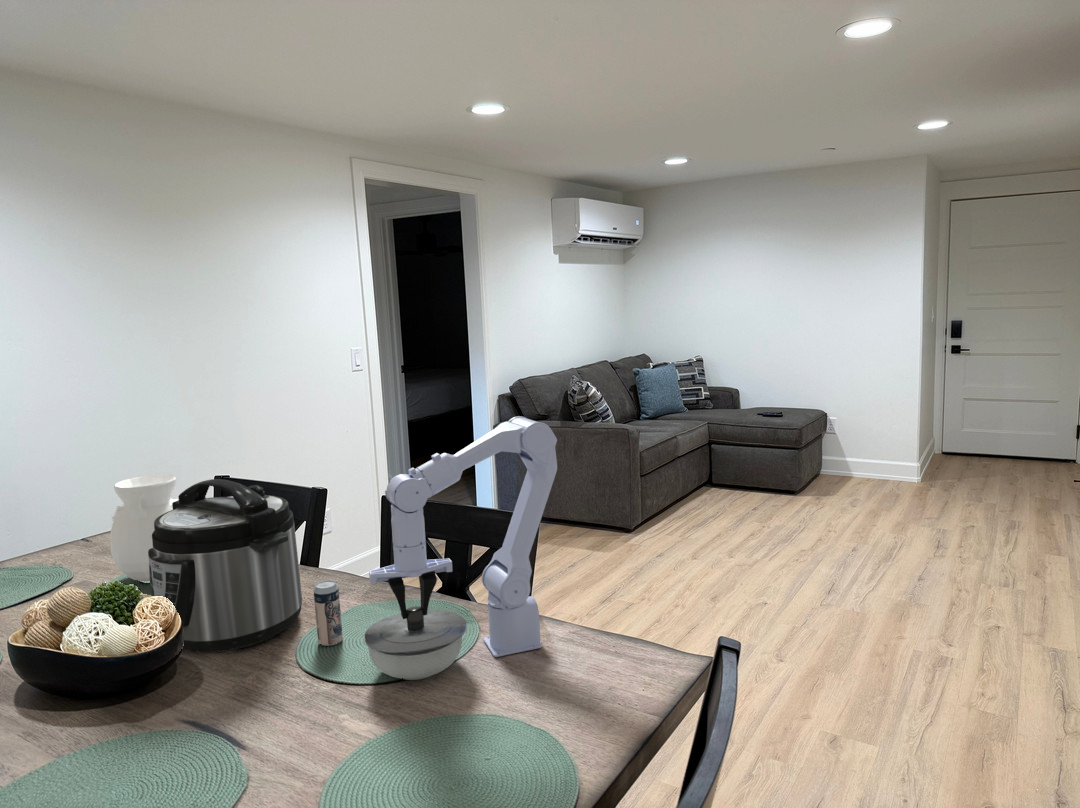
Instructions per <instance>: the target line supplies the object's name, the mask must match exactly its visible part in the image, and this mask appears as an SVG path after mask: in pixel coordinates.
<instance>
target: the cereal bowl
mask: <svg viewBox="0 0 1080 808" xmlns="http://www.w3.org/2000/svg"><path fill="white" fill-rule="evenodd" d="M462 643H463V635H462V636H461V637H460V638H459V639H457V640H456V641H454V642H452V643H450V644H448V645H445V646H442V647H440V648H436V649H432V650H428V651H423V652H416V653H398V654H397V653H386V652H381V651H377V650H374V649H372V648H370V647H369V646H368V645H367V648H368V654H369V657H370V660H371V662H372V663H373V665H374V666H375V668H377V670H379V671H380V672H381V673H383V674H385V675H387V676H390V677H392V678H396V679H401V680H407V681H417V680H423V679H426V678H429V677H431V676H435V675H436V674H439V673H440V672H442V671H444V670H446V669H448V668H449V667H450V666H451V665H452V664H453V663H454V662H455V660H457V657H459V654H460V651H461V649H462ZM402 678H403V679H402Z"/></svg>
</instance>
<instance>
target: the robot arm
mask: <svg viewBox="0 0 1080 808" xmlns="http://www.w3.org/2000/svg"><path fill="white" fill-rule="evenodd" d="M557 442H558V438H557V437H556V435H555V434H554V432H553V430H552V428H551V427H550V426H549V425H548V424H547V423H544V422H540V421H536V420H533V419H530V418H527V417H526V416H522V415H521V416H520V415H518V416H514V417H512V418H510V419H509V420H508V421H503V422H501V423H499V424H498V425H497V426H496V427H495V428H493V429H492V430H491V431H489V432H487V433H486V434H484V435H482V436H481V437H479V438H477V440H475V441H473V442H472V443H470V444H468V445H467V446H465V447H464V448H462V449H460V450H459V451H457V452H456V453H455V454H450V453H447V452H443V453H441V454H440V453H438V452H436V453H434V454H432V455H430V456H431V457H430V458H431V459H430V460H428V461H427V462H425V463H423V464H421V465H419V466H417V467H416V468H414V467H411V468H409V469H408V470H407V471H408V474H407V473H404V474H403V473H400V474H397V475H395V476H393V477H392V478H391V479H390V480H389V482H388V483H387V487H386V490H385V491H384V493H385V494H384V495H385V497H386V500H388V501H389V503H391V504H390V512H391V513H390V514H391V520H390V522H391V535H392V549H393V560H394V561H393V562H394V563H393V564H391V565H387V566H384V567H380V568H376V569H373V570H372V569H371V570H368V573H369V574H368V576H369V582H370V585H373V586H374V585H377V584H378V583H382V582H387V583H388V585H389V587H390V589H391V591H392V592H393V594H394V596H395V598H396V601H397V603H398V605H399V611H400V614H401V616H402V618H403V619H407V611H406V610H407V604H406V585H405V583H404V579H405V578H410V579H411V578H417V577H418V581H419V590H420V607H422V608H423V615H427V610H429V603H430V599H431V596H432V593H433V591H434V589H435V587H436V584H437V581H438V579H437V578H438V577H437V575H436V574H437V573H443V572H446V573H453V561H452V560H451V559H450V558H449V557H447V558H436V559H435V558H434V559H427V542H426V531H425V530H426V528H425V525H426V524H425V515H424V506H425V505H426V503H427V501H428V499H429V498H432V497H433V496H435V495H436V494H439V493H440V492H441V491H443V490H445V489H446V488H449V487H451V486H452V485H454V484H456V483H457V482H459V481H460V480H461V479H462V477H461V476H462V474H463V471H465V470H466V469H469V468H471V467H472V466H475V465H476V464H479V463H481V462H482V461H485V460H487V459H488V458H491V457H492V456H495V455H496V454H499V453H500V452H503V453H515V454H516V453H517V455H519V458H520V459H521V462H522V463H523V464H524V465H525V468H526V470H527V471H526V474H525V476H524V480H523V483H522V485H521V488H520V492H519V495H518V498H517V501H516V503H515V506H514V509H513V513H512V516H511V519H510V522H509V525H508V527H507V532H506V534H505V537H504V540H503V543H502V547H500V548H499V549H497V551H495V552H494V553H493V554H492V555H493V556H492V558H491V560H490V562H489V563H488V565H486V566H485V567H484V569H483V571H482V575H481V582H482V586H483V588H485V589H486V590H487V592H488V595H487V612H488V613H487V616H488V617H487V619H488V631H489V632H488V633H489V636H485V637H483V642H484V643H485V645H486V646H487V648H488V650H490V652H491V654H492V656H493V657H495V658H498V657H504V656H508V655H513V654H518V653H523V652H528V651H532V650H537V649H541V648H543V645H542V643H541V628H540V627H541V624H540V610H539V606H538V603H537V600H536V598H535V597H534V596H531V595H530V593H531V582H530V581H531V577H532V572H533V570H532V566H531V561H530V553H531V551H532V547H533V545H534V542H535V539H536V535H537V532H538V529H539V527H540V523H541V520H542V517H543V514H544V511H545V508H546V505H547V503H548V499H549V496H550V492H551V491H552V486H553V484H554V481H555V478H556V474H557V472H558V461H557V460H558V458H557V453H556V446H557Z"/></svg>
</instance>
